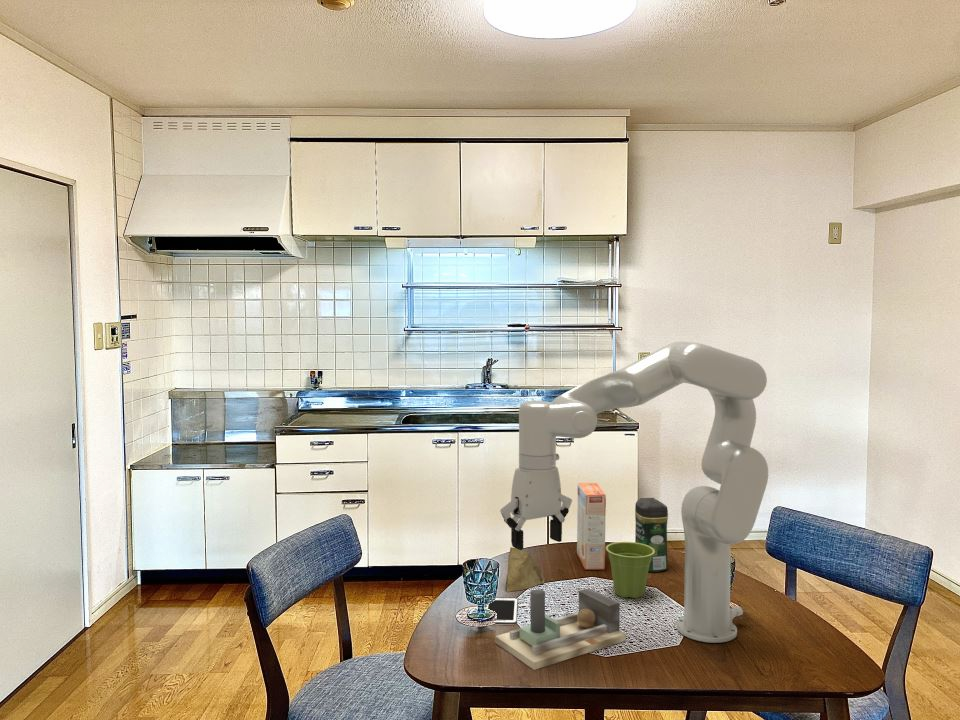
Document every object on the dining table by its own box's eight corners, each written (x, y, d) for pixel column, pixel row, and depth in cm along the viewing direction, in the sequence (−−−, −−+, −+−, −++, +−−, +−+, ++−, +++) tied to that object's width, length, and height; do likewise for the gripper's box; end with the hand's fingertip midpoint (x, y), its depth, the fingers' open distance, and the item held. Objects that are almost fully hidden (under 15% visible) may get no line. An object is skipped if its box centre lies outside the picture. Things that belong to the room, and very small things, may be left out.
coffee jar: (631, 561, 207) (631, 496, 205) (658, 560, 207) (659, 495, 206) (642, 573, 197) (643, 505, 196) (671, 572, 198) (672, 504, 197)
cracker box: (606, 570, 200) (606, 494, 198) (584, 570, 200) (584, 494, 198) (597, 553, 214) (597, 481, 212) (576, 553, 214) (576, 482, 212)
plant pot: (645, 606, 175) (645, 559, 175) (598, 596, 181) (598, 551, 181) (660, 590, 185) (661, 546, 185) (616, 581, 192) (616, 538, 191)
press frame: (583, 617, 169) (583, 585, 169) (625, 640, 157) (626, 606, 157) (495, 643, 157) (494, 608, 156) (534, 670, 145) (534, 632, 144)
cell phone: (518, 601, 180) (518, 597, 180) (516, 627, 165) (516, 622, 165) (486, 600, 180) (486, 596, 180) (482, 626, 166) (482, 622, 166)
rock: (545, 568, 195) (507, 562, 195) (549, 550, 189) (510, 543, 190) (542, 605, 187) (502, 599, 187) (545, 587, 181) (505, 580, 182)
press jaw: (542, 631, 158) (542, 584, 157) (560, 641, 153) (560, 593, 152) (519, 637, 155) (519, 590, 154) (536, 648, 150) (536, 599, 149)
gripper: (559, 454, 159) (559, 532, 160) (491, 463, 150) (491, 546, 151) (582, 460, 153) (581, 542, 154) (512, 469, 143) (512, 556, 145)
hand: (536, 544), depth 152 cm, fingers open, 9 cm apart
